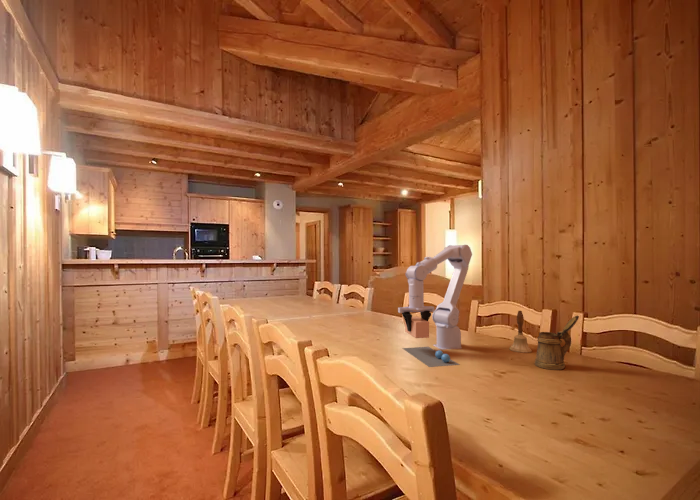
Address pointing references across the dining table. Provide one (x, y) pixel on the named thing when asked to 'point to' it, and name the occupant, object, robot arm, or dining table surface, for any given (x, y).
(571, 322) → the wooden mug
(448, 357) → the blue marble
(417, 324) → the terracotta cover
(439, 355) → the blue marble
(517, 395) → the dining table surface
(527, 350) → the hand bell
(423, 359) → the charcoal mat
